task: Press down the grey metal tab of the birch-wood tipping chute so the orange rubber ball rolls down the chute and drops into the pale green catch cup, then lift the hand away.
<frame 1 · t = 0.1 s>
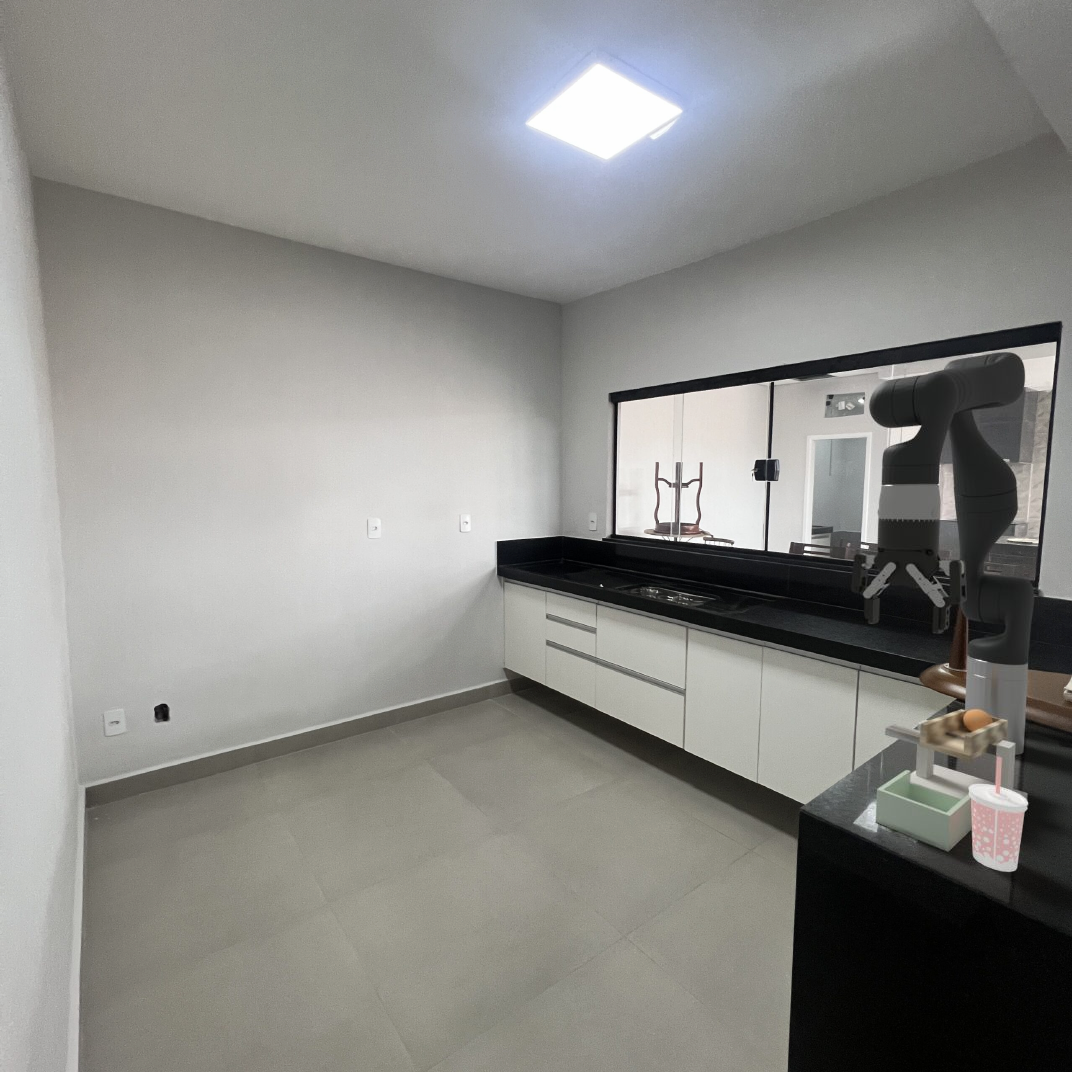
hand: (904, 627, 85), 29 cm above the countertop, tool pointing down, fingers open, 8 cm apart
catch cup: (925, 823, 86), on the countertop
travel mug: (999, 729, 123), on the countertop
beverage cup: (994, 862, 77), on the countertop
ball: (978, 721, 98), point 10 cm above the countertop, tilted 37°, touching tipping chute
pivot stand: (961, 793, 95), on the countertop
tipping chute: (949, 732, 96), point 9 cm above the countertop, hinge at -5.0°, touching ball
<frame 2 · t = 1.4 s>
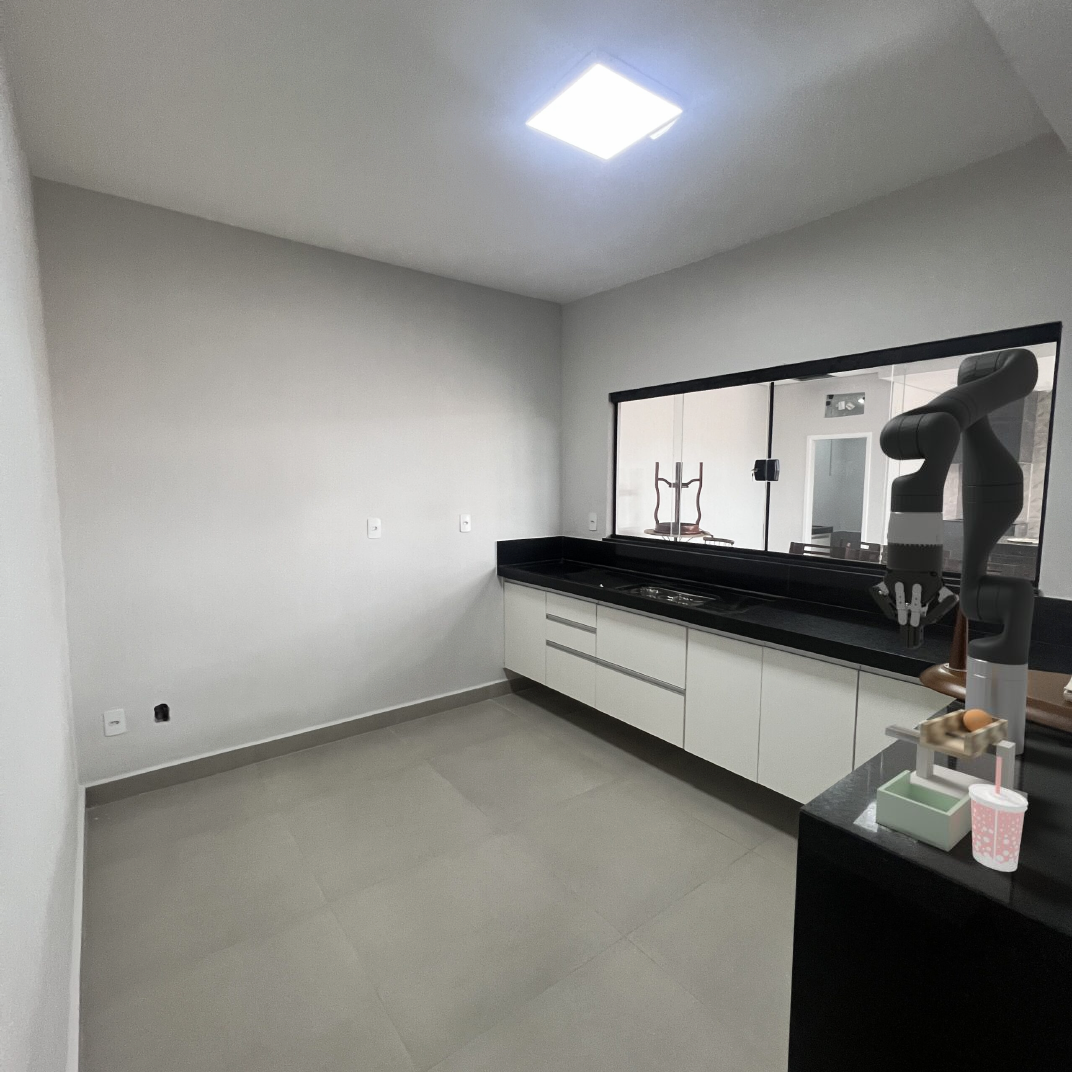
hand: (910, 647, 94), 24 cm above the countertop, tool pointing down, fingers closed
nothing on the countertop moved.
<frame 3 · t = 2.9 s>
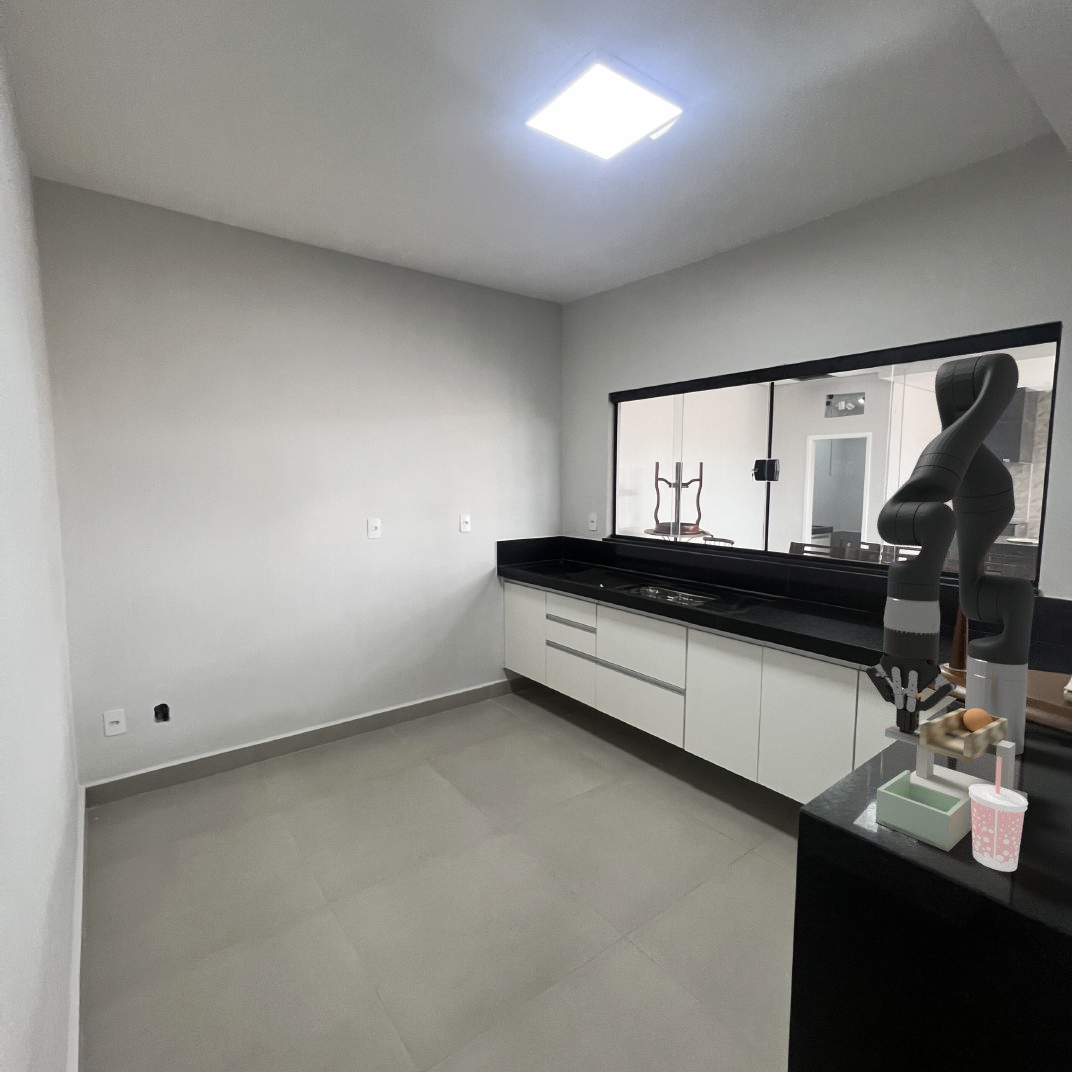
hand: (906, 731, 95), 10 cm above the countertop, tool pointing down, fingers closed
tipping chute: (949, 732, 96), point 9 cm above the countertop, hinge at -3.6°, touching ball, gripper
everything else where it was.
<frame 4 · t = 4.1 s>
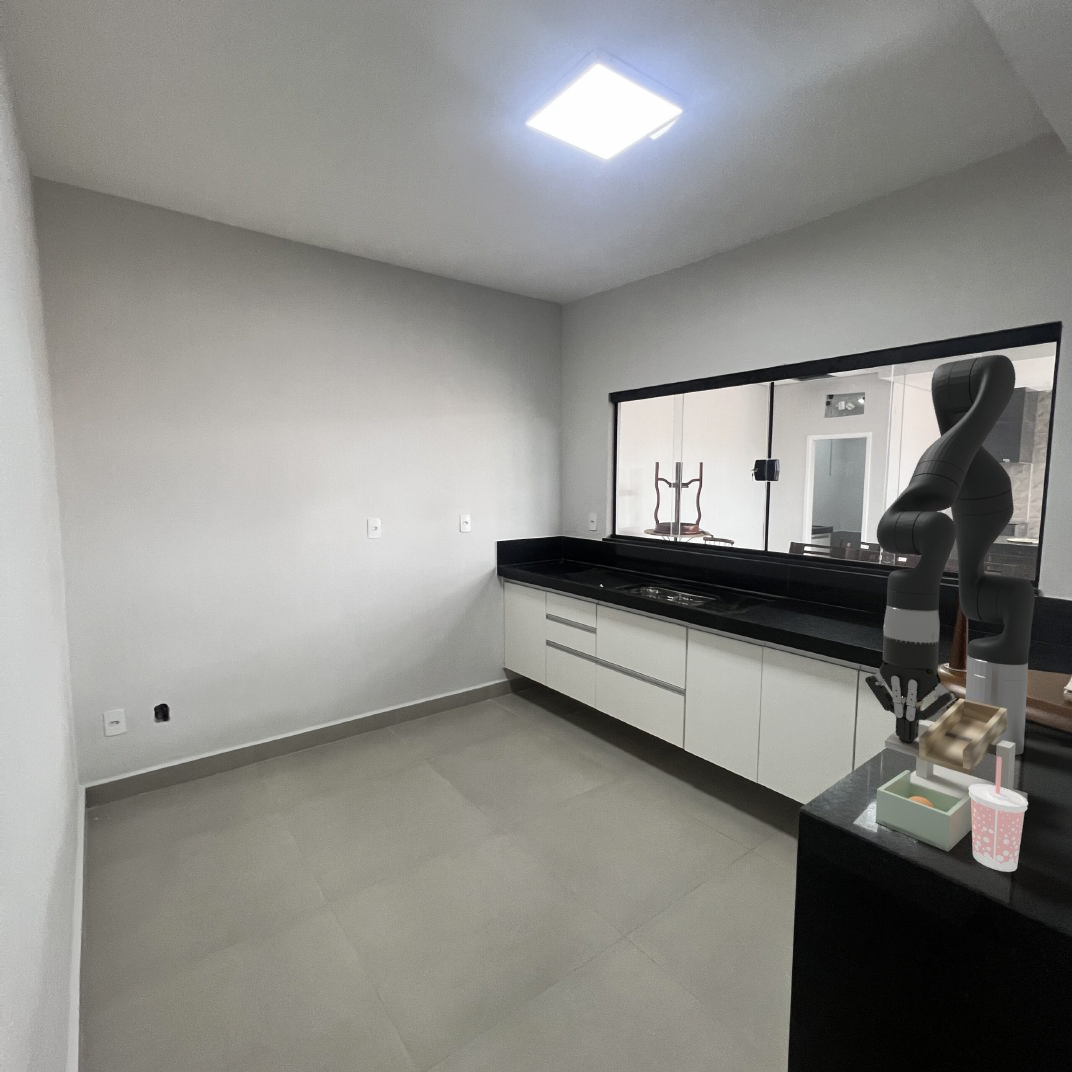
hand: (906, 740, 95), 9 cm above the countertop, tool pointing down, fingers closed
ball: (920, 811, 84), point 3 cm above the countertop, tilted 25°, touching catch cup
tipping chute: (949, 732, 96), point 9 cm above the countertop, hinge at 8.6°, touching gripper
everything else where it was.
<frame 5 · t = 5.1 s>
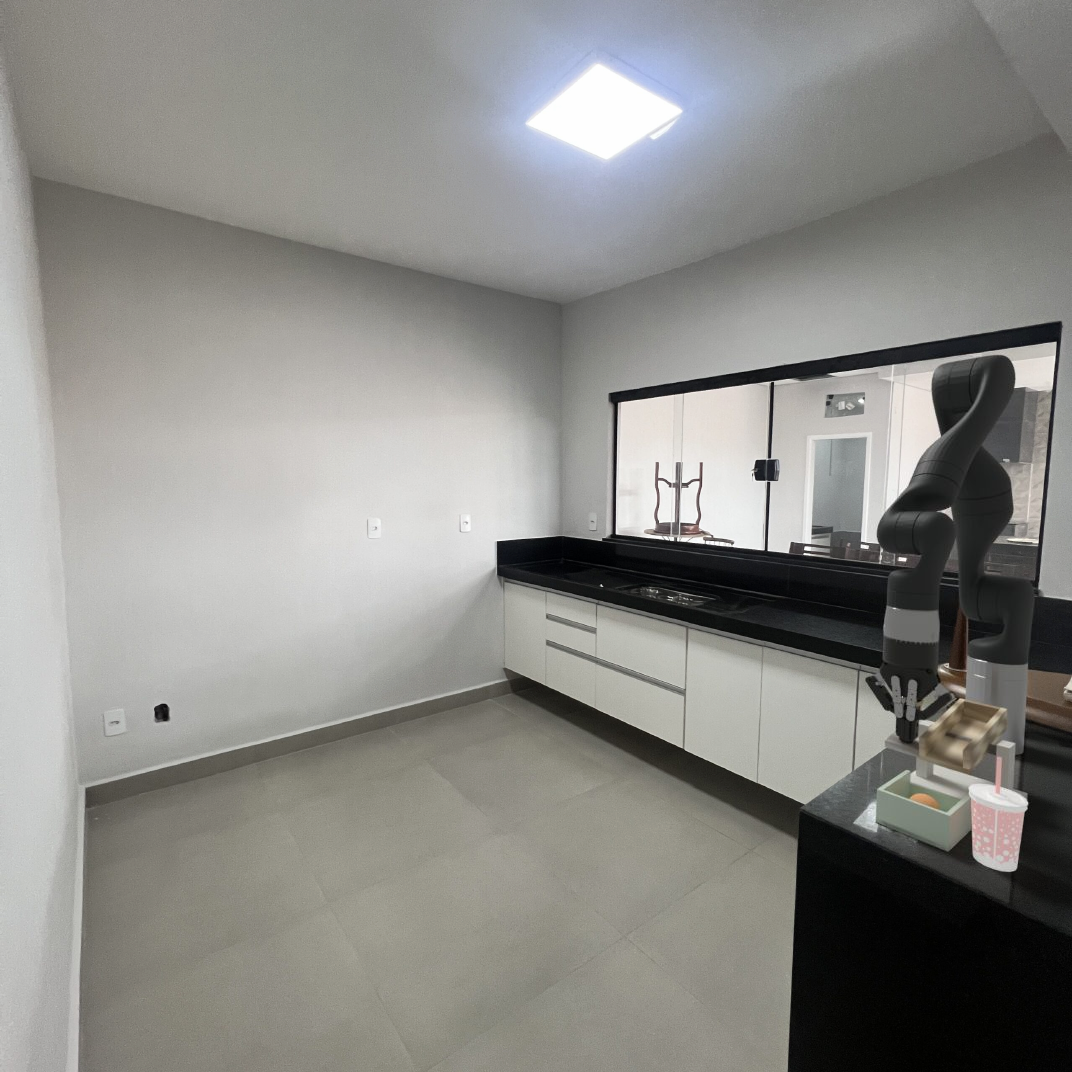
hand: (906, 740, 95), 9 cm above the countertop, tool pointing down, fingers closed
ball: (923, 808, 85), point 3 cm above the countertop, tilted 65°, touching catch cup
everything else where it was.
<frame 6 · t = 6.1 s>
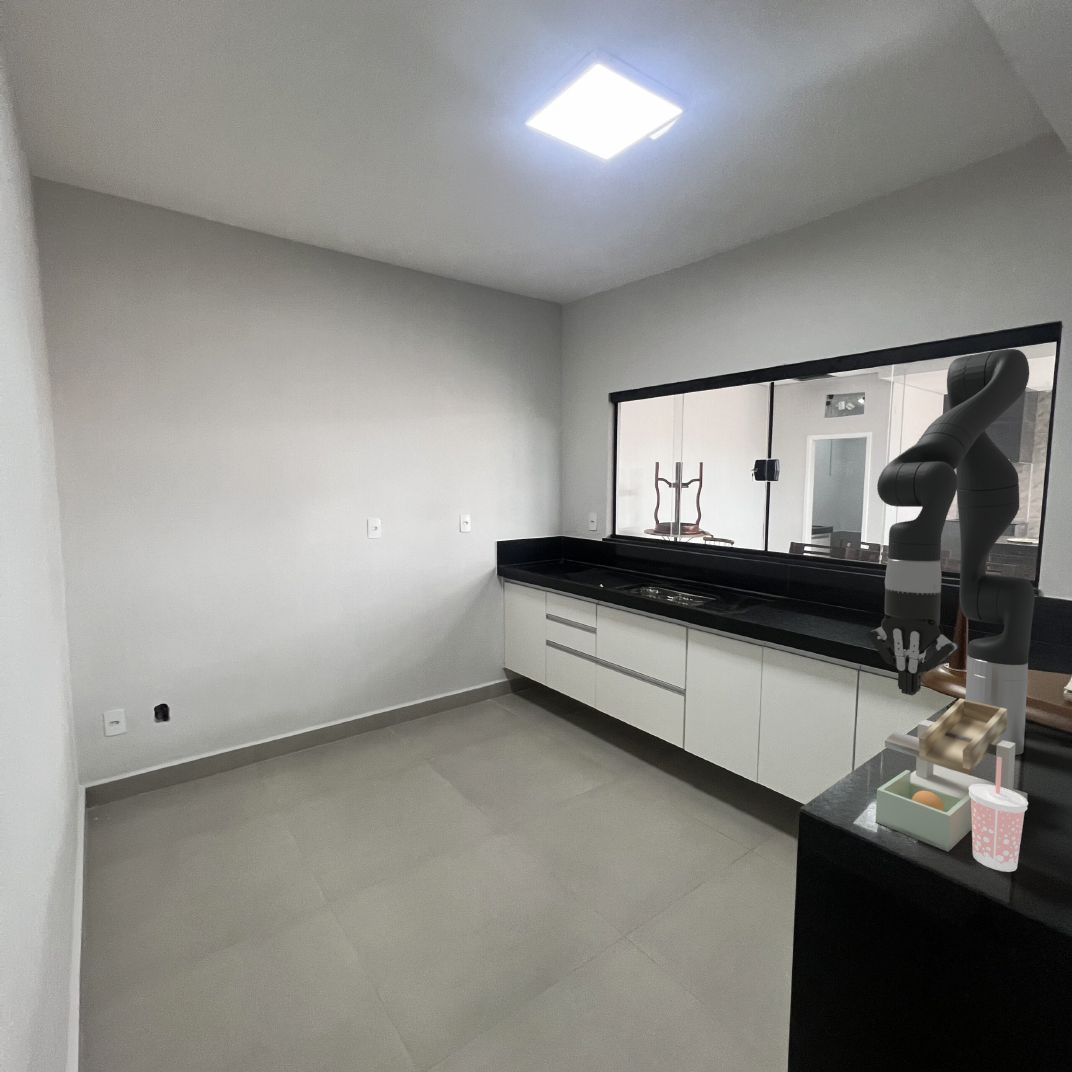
hand: (908, 693, 95), 16 cm above the countertop, tool pointing down, fingers closed
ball: (927, 805, 86), point 3 cm above the countertop, tilted 105°, touching catch cup
tipping chute: (949, 732, 96), point 9 cm above the countertop, hinge at 8.6°
everything else where it was.
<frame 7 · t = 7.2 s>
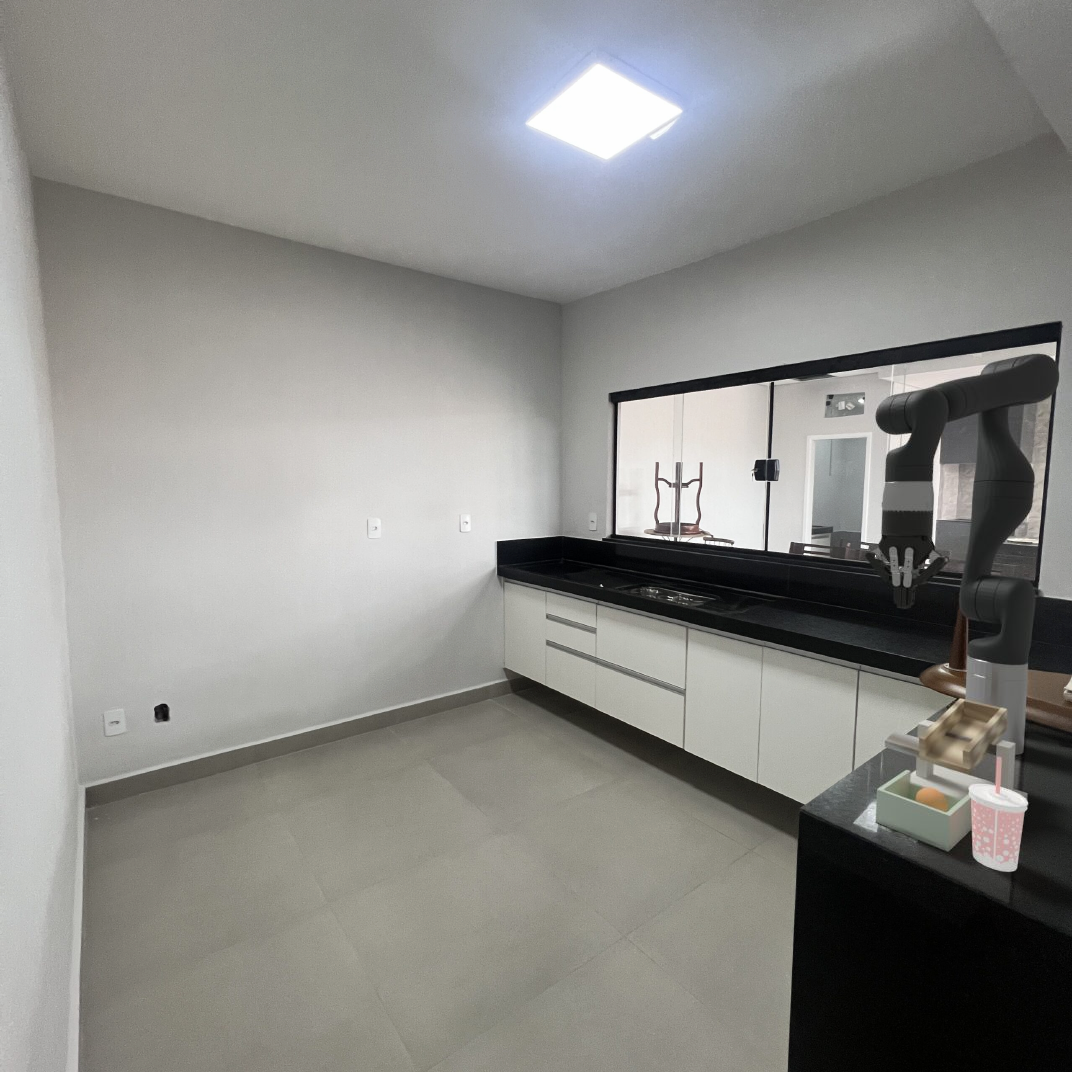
hand: (903, 607, 102), 29 cm above the countertop, tool pointing down, fingers closed
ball: (931, 802, 87), point 3 cm above the countertop, tilted 149°, touching catch cup
everything else where it was.
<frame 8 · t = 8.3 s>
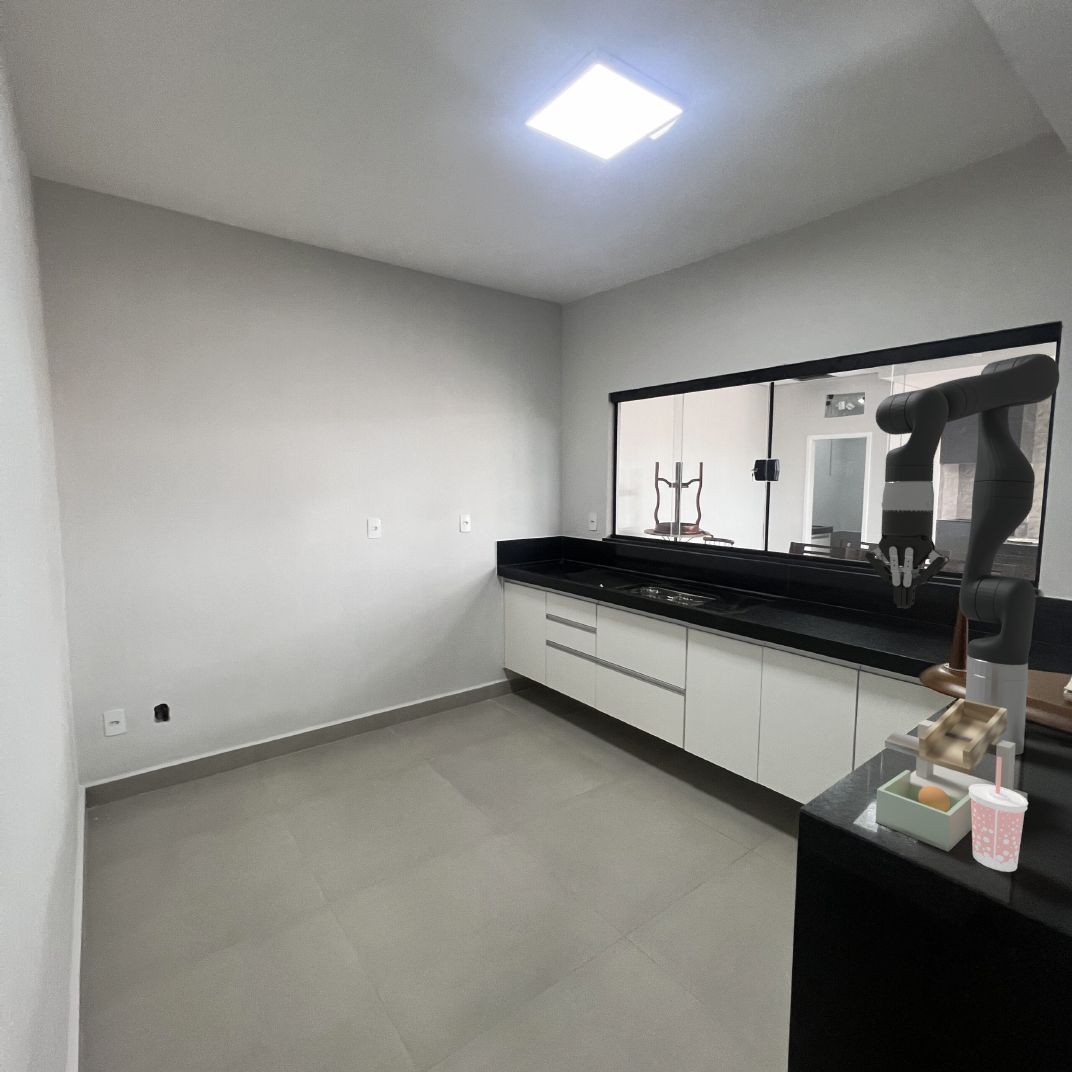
hand: (903, 607, 102), 29 cm above the countertop, tool pointing down, fingers closed
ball: (933, 800, 88), point 3 cm above the countertop, tilted 176°, touching catch cup
everything else where it was.
at the end: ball inside the target area on the catch cup (2.8 cm from its centre), point 2.6 cm above the catch cup's base; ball touching catch cup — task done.
